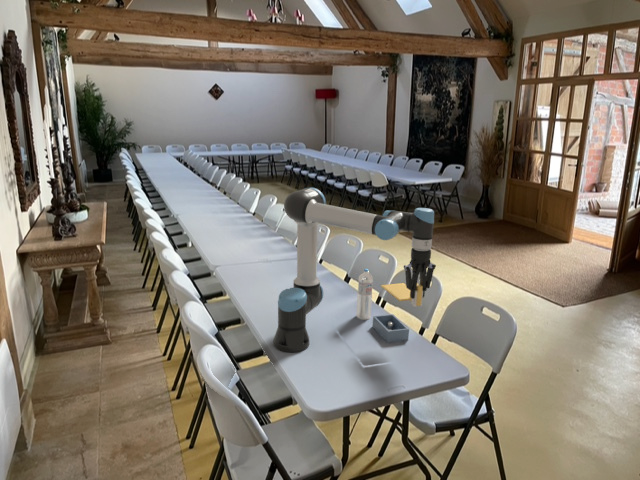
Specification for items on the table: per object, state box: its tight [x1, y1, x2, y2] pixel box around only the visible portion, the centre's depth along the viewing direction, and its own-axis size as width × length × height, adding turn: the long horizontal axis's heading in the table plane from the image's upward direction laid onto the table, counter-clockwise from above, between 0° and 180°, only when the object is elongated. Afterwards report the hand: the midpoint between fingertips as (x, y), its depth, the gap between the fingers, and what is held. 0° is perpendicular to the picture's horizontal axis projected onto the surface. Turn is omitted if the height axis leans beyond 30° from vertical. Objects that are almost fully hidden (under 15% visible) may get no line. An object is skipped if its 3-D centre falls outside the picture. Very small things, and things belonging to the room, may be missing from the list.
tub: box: [372, 313, 410, 344], centre depth 212 cm, size 10×16×6 cm, turn 17°
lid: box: [380, 282, 423, 307], centre depth 195 cm, size 11×23×8 cm, turn 19°
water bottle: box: [356, 268, 374, 321], centre depth 225 cm, size 7×7×25 cm
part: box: [387, 321, 394, 330], centre depth 216 cm, size 3×3×3 cm
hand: (416, 305), depth 188 cm, fingers closed on lid, 2 cm apart
